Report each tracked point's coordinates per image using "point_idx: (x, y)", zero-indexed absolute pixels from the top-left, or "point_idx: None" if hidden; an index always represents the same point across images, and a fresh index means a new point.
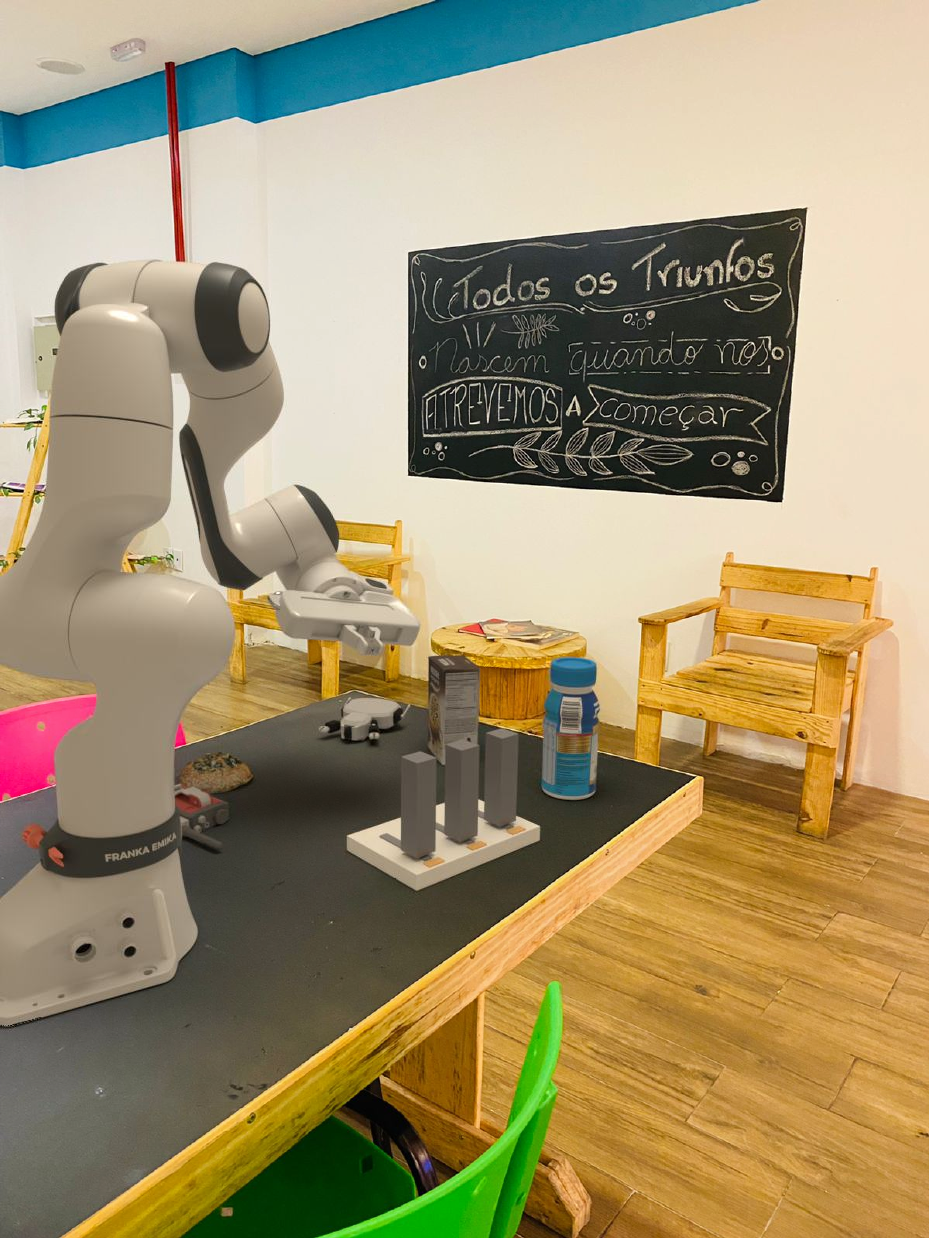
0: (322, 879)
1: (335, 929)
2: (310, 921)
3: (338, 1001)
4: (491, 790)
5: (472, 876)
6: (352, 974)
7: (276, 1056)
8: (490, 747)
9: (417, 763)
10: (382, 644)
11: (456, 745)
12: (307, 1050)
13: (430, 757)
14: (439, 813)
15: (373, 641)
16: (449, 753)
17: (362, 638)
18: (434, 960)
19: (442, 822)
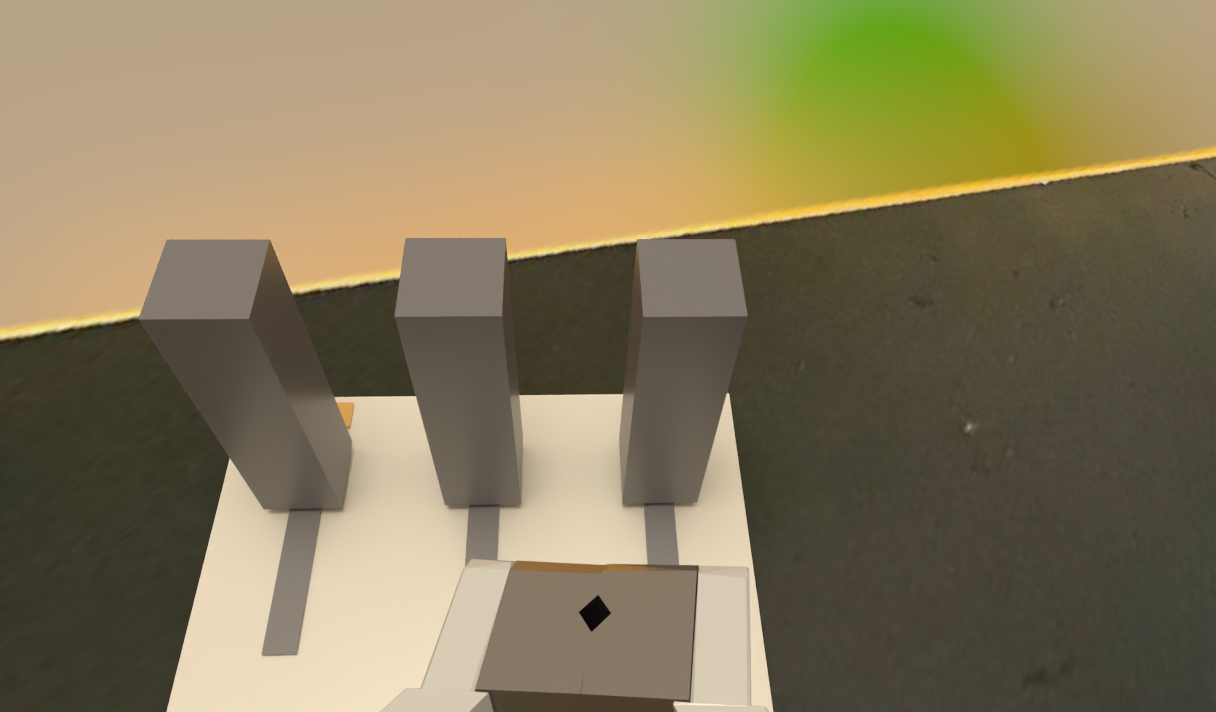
0: (915, 618)
1: (971, 399)
2: (1014, 457)
3: (1042, 233)
4: (319, 420)
5: (561, 390)
6: (993, 271)
7: (1168, 195)
8: (272, 330)
9: (733, 239)
10: (477, 563)
11: (476, 284)
12: (1120, 182)
13: (655, 251)
14: (389, 670)
15: (575, 606)
16: (504, 316)
17: (720, 666)
18: (838, 224)
19: (439, 603)
